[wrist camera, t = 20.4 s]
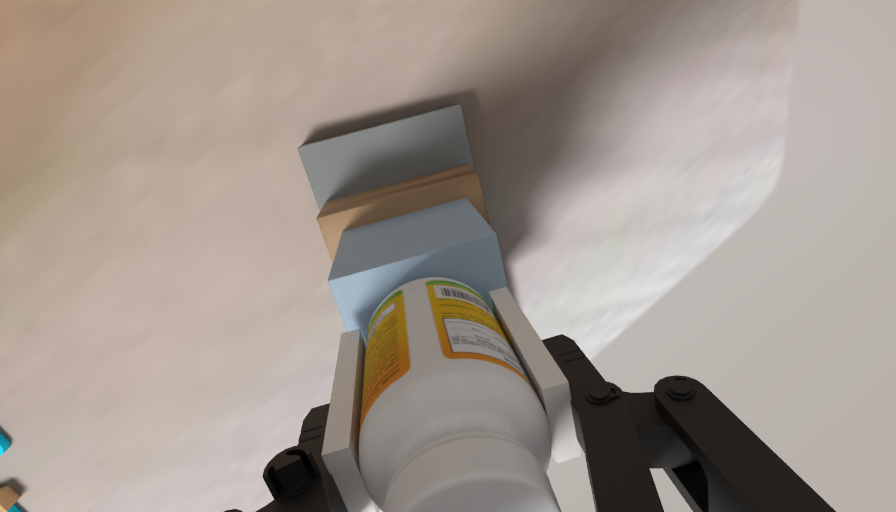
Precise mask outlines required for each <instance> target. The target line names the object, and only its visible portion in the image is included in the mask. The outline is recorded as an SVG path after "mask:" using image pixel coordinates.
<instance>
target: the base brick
mask: <svg viewBox="0 0 896 512" xmlns="http://www.w3.org/2000/svg"><path fill="white" fill-rule="evenodd" d="M463 198H467V199H468V200H469V202H470V203H471V204H472V205H473V206H474V208H475V209H476V210H477V211H478V212H479V214H480V215H481V216H482V217H483V218H484V220H485V221H486V222H487V223H488V224H489V221H488V216H487V212H486V207H485V202H484V198H483V193H482V189H481V184H480V180H479V175H478V174H477V173H476V172H475V171H474V170H472V169H471V168H470V167H469V166H467V165H466V164H464V165H460V166H456V167H453V168H449V169H445V170H442V171H438V172H434V173H431V174H427V175H423V176H420V177H416V178H412V179H408V180H405V181H401V182H397V183H394V184H390V185H386V186H383V187H379V188H375V189H371V190H368V191H364V192H360V193H357V194H353V195H349V196H346V197H342V198H338V199H335V200H331V201H327V202H325V204H324V205H323V207H322V209H321V211H320V213H319V215H318V217H317V218H316V219H317V221H318V224H319V227H320V229H321V232H322V235H323V238H324V240H325V243H326V246H327V249H328V251H329V254H330V257H331V260H332V262H334V258H335V255H336V251H337V248H338V245H339V241H340V238H341V234H342V232H343V231H346V230H350V229H354V228H357V227H361V226H364V225H368V224H372V223H375V222H379V221H383V220H386V219H390V218H394V217H397V216H401V215H404V214H408V213H412V212H415V211H419V210H423V209H426V208H430V207H433V206H437V205H441V204H444V203H448V202H452V201H455V200H459V199H463ZM489 226H490V225H489Z"/></svg>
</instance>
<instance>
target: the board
mask: <svg viewBox="0 0 896 512" xmlns="http://www.w3.org/2000/svg"><path fill="white" fill-rule="evenodd" d="M297 149H298V151H299V154H300V157H301V160H302V163H303V165H304V168H305V171H306V174H307V176H308V179H309V182H310V185H311V188H312V190H313V193H314V196H315V199H316V201H317V204H318V207H319V210H320V211H321V209H322V207H323V205H324V204H325V202H327V201H331V200H335V199H338V198H342V197H346V196H349V195H353V194H357V193H360V192H364V191H368V190H371V189H375V188H379V187H383V186H386V185H390V184H394V183H397V182H401V181H405V180H408V179H412V178H416V177H420V176H423V175H427V174H431V173H434V172H438V171H442V170H445V169H449V168H453V167H456V166H460V165H464V164H466V165H467V166H469V167H470V168H471V169H472V170H474V171H475V168H474V163H473V159H472V154H471V150H470V145H469V140H468V136H467V131H466V127H465V122H464V118H463V113H462V109H461V105H459V104H456V105H452V106H448V107H444V108H441V109H437V110H433V111H429V112H426V113H422V114H418V115H414V116H410V117H407V118H403V119H399V120H395V121H391V122H388V123H384V124H380V125H376V126H373V127H369V128H365V129H361V130H357V131H354V132H350V133H346V134H342V135H339V136H335V137H331V138H327V139H323V140H320V141H316V142H312V143H308V144H304V145H301V146H299V147H298V148H297Z"/></svg>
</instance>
